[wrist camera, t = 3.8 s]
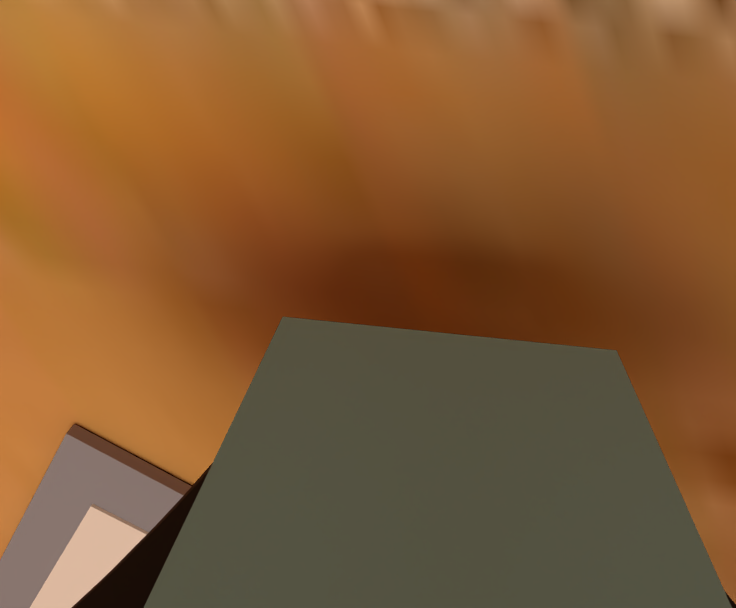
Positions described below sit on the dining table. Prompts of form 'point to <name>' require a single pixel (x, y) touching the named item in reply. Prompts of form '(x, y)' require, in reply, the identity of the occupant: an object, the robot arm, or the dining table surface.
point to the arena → (82, 522)
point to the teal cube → (437, 483)
